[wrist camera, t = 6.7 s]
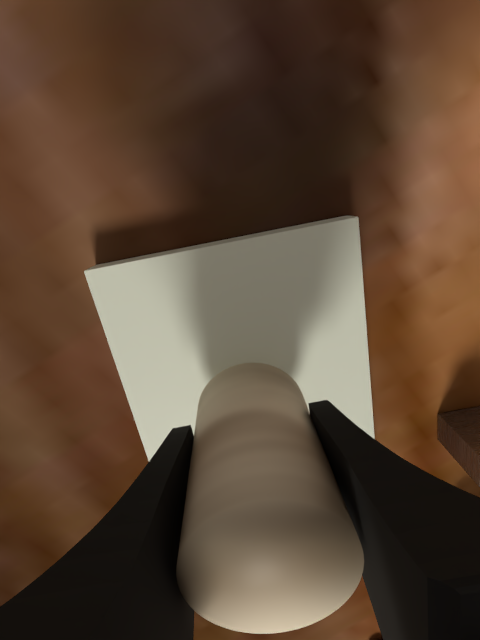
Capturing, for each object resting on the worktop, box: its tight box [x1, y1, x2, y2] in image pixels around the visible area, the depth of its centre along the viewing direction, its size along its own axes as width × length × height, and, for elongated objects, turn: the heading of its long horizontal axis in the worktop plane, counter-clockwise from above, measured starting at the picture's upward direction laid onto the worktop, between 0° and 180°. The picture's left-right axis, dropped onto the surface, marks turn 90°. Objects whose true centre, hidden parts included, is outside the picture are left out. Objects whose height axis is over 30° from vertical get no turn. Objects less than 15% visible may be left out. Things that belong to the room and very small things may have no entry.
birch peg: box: [176, 363, 364, 634], centre depth 10 cm, size 4×4×6 cm
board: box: [84, 215, 375, 461], centre depth 15 cm, size 12×10×1 cm
